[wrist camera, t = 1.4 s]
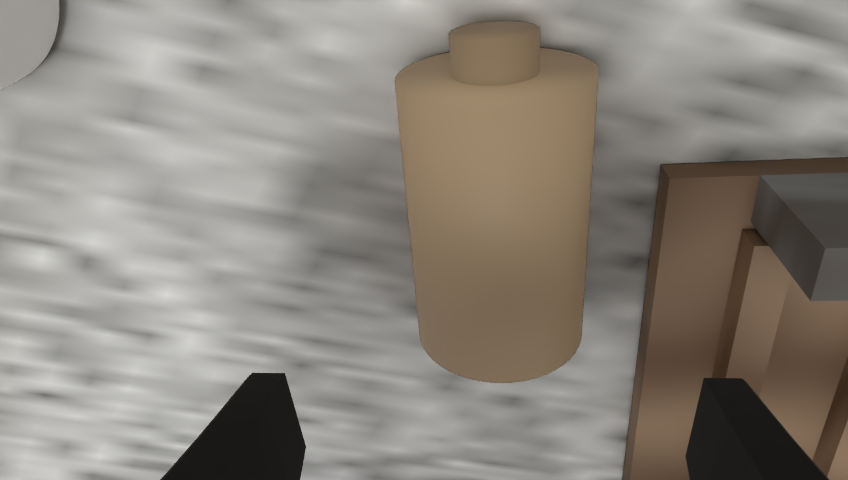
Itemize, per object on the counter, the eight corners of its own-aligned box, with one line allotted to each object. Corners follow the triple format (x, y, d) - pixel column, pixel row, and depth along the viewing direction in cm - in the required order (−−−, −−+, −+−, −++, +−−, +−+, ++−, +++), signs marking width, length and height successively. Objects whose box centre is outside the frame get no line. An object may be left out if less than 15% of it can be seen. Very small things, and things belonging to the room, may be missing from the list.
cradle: (870, 503, 26) (947, 630, 22) (619, 500, 27) (646, 620, 23) (1021, 151, 18) (1186, 240, 14) (661, 164, 19) (713, 251, 15)
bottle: (569, 303, 22) (592, 408, 18) (427, 306, 23) (416, 409, 19) (584, 4, 17) (620, 52, 13) (401, 16, 18) (378, 65, 14)
